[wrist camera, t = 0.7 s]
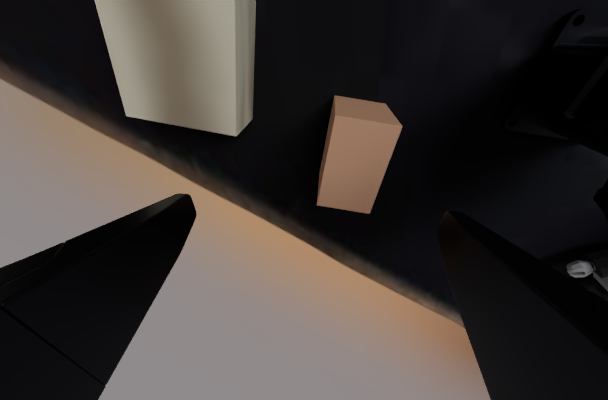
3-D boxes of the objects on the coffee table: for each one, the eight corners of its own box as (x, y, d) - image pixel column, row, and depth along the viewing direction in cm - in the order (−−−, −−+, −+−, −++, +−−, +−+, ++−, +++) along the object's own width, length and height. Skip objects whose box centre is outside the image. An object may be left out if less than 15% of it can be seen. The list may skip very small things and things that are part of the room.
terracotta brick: (385, 103, 17) (402, 126, 13) (361, 177, 20) (369, 213, 16) (334, 95, 17) (335, 115, 13) (319, 170, 20) (316, 205, 16)
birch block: (256, 1, 14) (234, -9, 11) (253, 118, 18) (236, 136, 15) (141, -21, 14) (84, -38, 11) (163, 101, 18) (126, 116, 15)
